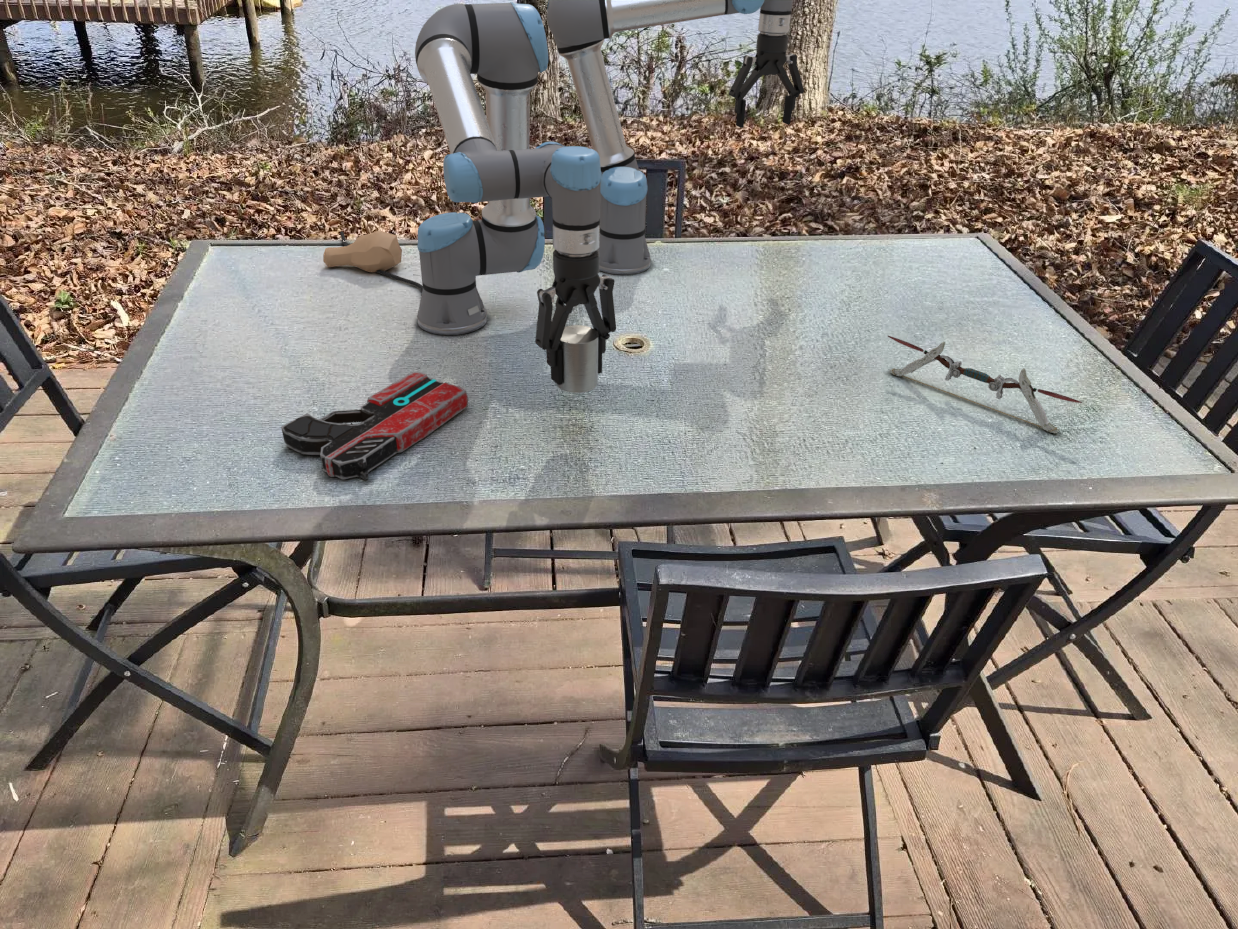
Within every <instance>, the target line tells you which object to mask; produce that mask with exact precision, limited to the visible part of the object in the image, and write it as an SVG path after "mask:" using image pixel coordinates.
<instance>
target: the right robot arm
mask: <svg viewBox="0 0 1238 929" xmlns="http://www.w3.org/2000/svg"><path fill="white" fill-rule="evenodd" d="M793 2H794V0H548V1H547V6H546V22H547V27H548V28H549V31H550V33H551V34H552V36H553V39H554V43H555V46H556V50H557V53H558V55H559V56H560V57H562V58H564V59H565V60H566V62H567V64H568V69H569V72H570V75H571V79H572V82H573V85H574V89H575V93H576V96H577V100H578V103H579V106H580V111H581V113H582V117H583V120H584V124H585V127H586V130H587V134H588V138H589V141H590V144H591V149H593V150H595V151H596V152H597V153H598V154H599V156H600V168H601V173H602V177H601V186H600V236H599V248H598V249H597V250H598V251H599V253H600V258H599V272H603V273H606V274H612V275H622V276H624V275H625V276H626V275H635V274H640V273H643V272H645V271H648V269H650V268H651V264H652V263H651V262H652V261H651V260H652V258H651V253H650V250H649V246H648V242H647V238H646V218H647V216H646V213H647V194H648V188H649V187H648V181H647V176H646V175H645V173H643V172H642V170H640V168H639V165H638V161H637V158H636V154H635V151H634V149H633V148H631V147H629V146H628V145H627V143H626V140H625V136H624V131H623V127H622V124H621V120H620V117H619V113H618V110H617V105H616V100H615V98H614V94H613V90H612V87H611V83H610V79H609V76H608V72H607V68H606V63H605V60H604V57H603V53H602V49H601V48H602V46H603V44H604V42H605V40H608V39H612V38H613V36H614V34H615V33H620V32H624V31H632V30H638V29H639V30H640V29H644V28H645V29H646V28H651V27H656V26H663V25H669V24H676V23H682V22H688V21H696V20H701V19H707V18H712V17H713V18H714V17H719V16H729V15H735V14H743V15H750V14H754V13H756V12H758V11H759V18H758V27H757V31H758V32H759V33H758V34H757V36H756V45H755V46H756V47H755V49H756V53H755V56H750V55H748V54H745V55H744V56H743V60H742V65H741V67H740V68H739V71H738V73H737V75H736V77H735V79H734V81H733V83H732V84H731V87H730V90H729V91H728V96H730V97H732V98H734V101H735V102H734V113H736V119H735V126H736V127H738V128H740V129H743V128H744V126H745V117H746V106H747V104H746V103H747V100H746V99H745V98H746V96H747V94H748V93H749V92H750V91H751V89H752V88H753V87H754V86H755V84H756V83H757V82H758V81H759V79H761V78H762V77H763V76H771V75H772V76H778V78H779V80H780V81H781V83H782V85H783V87H784V88H785V91H786V92H787V95H785V97H784V106H783V114H782V123H783V124H785V125H791V121H792V112H793V111H794V110H795V108H796V103H797V102H796V101H797V98H799V97H800V95H802V94H804V93H805V88H804V85H803V80H802V77H801V74H800V70H799V66H798V56H797V54H794V53H792V52H789V53H788V54H787V51H788V45H789V35H788V33H789V32H790V28H791V20H792V18H791V17H792V11H793V10H792V9H793ZM785 64H787V66H788V70H789V74H790V78H791V79H790V78H789V76H788V74H787V71H786V69H785V67H784V65H785ZM754 65H755V66H754ZM753 66H754V68H753V69H752V67H753ZM749 74H750V75H749Z"/></svg>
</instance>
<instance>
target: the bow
mask: <svg viewBox="0 0 1238 929" xmlns="http://www.w3.org/2000/svg"><path fill="white" fill-rule="evenodd" d="M887 337H888V338H889V339H891V340H893V341H895V342H896V343H899V344H901V345H903V346H905V347H907V348H910V349H912V350H915V351H918V352H921V353H923V355H924V356H923V357H920V358H917V359H915V360H913V361H911V362H909V363H908V364H906V365H905V366H904V367H903V368H896V367H893V368H891V369H889V373H890V374H892V375H893V376H897V377H903V378H905V379H908V380H910V381H911V380H912V381H914V382H916V383H919V384H922V385H924V386H928V387H930V388H933V389H935V390H938V391H940V392H944V393H947V394H949V395H951V396H953V397H954V396H955V397H957V398H960V399H963V400H966V401H968V402H971V403H974V404H976V405H979V406H982V407H984V408H987V409H990V410H993V411H996V412H997V413H1001V414H1003V415H1006V416H1009V417H1011V418H1014V419H1017V420H1019V421H1022V422H1025V423H1028V424H1030V425H1034V426H1036V427H1039V428H1041V429H1043V430H1044V431H1046V432H1048V433H1051V434H1052V433H1053V434H1058V432H1060V431H1061V430H1060V428H1058V427H1056V426H1055V425H1054V424H1052V423H1051V422H1050V421H1048V420H1049V419H1048V417H1047V414H1046V411H1045V409H1044V408H1043V406H1042V404H1041V403H1040V401H1039V399H1038V398H1037V397H1036V395H1035V393H1036V392H1038V393H1039V394H1043V395H1046V396H1048V397H1050V398H1053V399H1058V400H1061V401H1066V402H1071V403H1077V404H1083V401H1081V400H1078V399H1074V398H1072V397H1069V396H1066V395H1063V394H1060V393H1057V392H1053V391H1050V390H1045V389H1041V388H1036V387H1034V386H1032V382H1031V380H1030V378H1029V377H1028V375H1027V370H1026V368H1025V367H1023V368H1022V369H1021V370H1020V372H1019V375H1018V380H1016V378H1012V377H1006V378H1005V377H1004V376H1002V375H1001V374H999V375H997V377H995V378H993V377H992V376H990V375H989V374H987V373H986V372H983V371H980V370H977V369H975V368H970V367H965V368H964V367H962V361H961V360H960V361H957V360H956V361H954V359H953V358H952V357H950V356H948V355H945V354H942V352H944V349H945V346H946V341H942V342H941V343H940V344H938V346H937V347H934V348H932V349H930V351H928V350H927V349H925V350H924V349H923V348H922V347H919V346H917V345H915V344H914V343H911V342H908V341H905V340H902V339H901V338H897V337H894V336H891V335H887ZM935 361H937V362H939V363H940V364H941V365H943V366H944V367H945V368H946V369H947V374H946V375H945V378H944V381H948V382H949V381H950V380H952V377H953V378H955V379H958V378H959V377H961V376H964V377H967V378H971V379H974V380H976V381H980V382H981V383H985V384H988V387H987V388H988V389H989V390H990V391H992V392H996V393H995V395H996V397H995V399H997V400H1001V399H1002V398H1003V395H1004V389H1019V391H1020V392H1021V394H1022V395H1023V397H1024V398H1025V400H1026V401H1027V403H1028V406H1029V408H1030V410H1031V412H1032V413H1033V416H1034V417H1035V419H1036V421H1037V423H1038V424H1035V423H1033V422H1031V421H1028V420H1024V419H1022V418H1020V417H1017V416H1015V415H1011V414H1008V413H1006V412H1003V411H1001V410H998V409H995V408H993V407H990V406H987V405H984V404H981V403H979V402H977V401H973V400H971V399H969V398H965V397H963V396H960V395H957V394H954V393H952V392H949V391H947V390H944V389H940V388H939V387H936V386H933V385H930V384H927V383H924V382H921V381H919V380H916V379H913V378H911V377H908V376H905V375H908V374H913V373H914V372H915V371H917V370H919V369H920V368H922V367H924V366H926V365H928V364H930V363H933V362H935Z"/></svg>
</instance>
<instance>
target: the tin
mask: <svg viewBox="0 0 1238 929" xmlns="http://www.w3.org/2000/svg"><path fill="white" fill-rule="evenodd" d="M558 347H559V348H560V349H561V350H562V381H563V384H561V385H558V384H557V383H555V384H556V387H557V388H558V389H559V390H561V391H564V392H566V393H572V394H582V393H587V392H590V391H593V390H594V389H596V388H597V387H598V383H599V374H598V332H597V331H596V330H595V329H593V327H590V326H587V325H583V324H582V325H581V324H573V325H567V326H566V325H565V328H564V331H563V334H562V337H561V340H560V343H559V346H558Z"/></svg>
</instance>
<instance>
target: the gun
mask: <svg viewBox="0 0 1238 929" xmlns="http://www.w3.org/2000/svg"><path fill="white" fill-rule="evenodd" d="M468 405H469V395H468V392H467V390H466V389H464V388H463V387H461V386H459V385H455V384H452V383H450V382H447V381H445V382H443V381H441V380H438V379H435V378H432V377H430V376H428V374H426V373H424V372H420V371H412V372H410V373H408V374H407V375H404V376H403V377H401V378H399V379H398V380H396V381H395V382H393V383H391V384H389V385H388V386H386V387H384V388H382V389H380V390H379V391H377V392H375V393H374V394H372V395H370V396H369V397H367V400H366V403H364V404H363V405H361V406H360V409H345V410H344V409H343V410H333V411H331V412H330V413H328V414H326V415H324V416H323V417H321V418H316V417H314V416H313V415H311V414H310V413H308V412H307V413H305V414H302V415H301V416H299V417H297V418H295V419H293V420H291V421H289V422H287V423H285V424H283V425H282V426H281V427H280V429H281V433H282V438H283V442H284V444H285V446H286V447H287V448H289V449H291V450H293V451H295V452H297V453H298V454H301V455H311V456H320V461H321V465H322V471H323V472H325V473H326V474H327V476H328V477H330V478H334V477H336V478H338V479H340V480H342V481H344V480H348V479H353V478H356V477H357V478H360V479H362V480H364V481H366V480H368V479H369V473H370V472H371V471H372V470H374V469H375V468H377V467H378V466H380V465H381V464H383V463H384V462H386V461H387V460H389V459H390V458H391V457H393V456H394V455H397V453H403V452H404V451H406V450H407V449H409V448H410V447H412V446H413V445H415V444H417V443H418V442H419V441H422V440H424V439H425V438H426V437H427V436H429V435H430V434H432V433H433V432H434V431H435V430H437V429H438V428H440V427H441V426H443V425H445V423H447V422H448V421H450V420H452V419H453V418H454V417H455V416H457V415H458V414H460V413H461V412H462V411H463V410H465V409H466V408H468Z"/></svg>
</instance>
